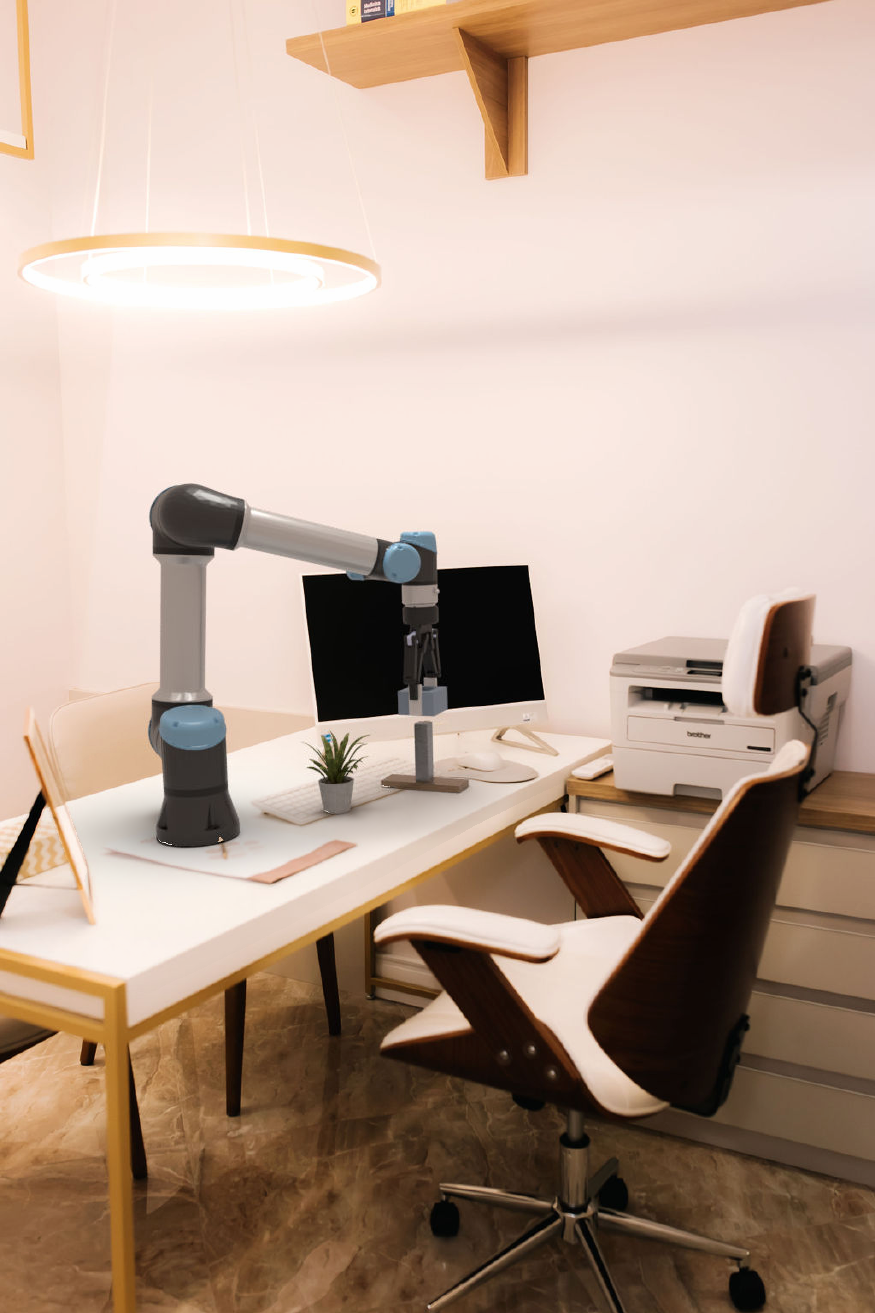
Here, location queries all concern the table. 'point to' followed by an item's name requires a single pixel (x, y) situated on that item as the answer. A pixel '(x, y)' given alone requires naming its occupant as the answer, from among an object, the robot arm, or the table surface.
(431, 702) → the blue-grey hollow block
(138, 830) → the table surface
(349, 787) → the house plant
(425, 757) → the keyed post
